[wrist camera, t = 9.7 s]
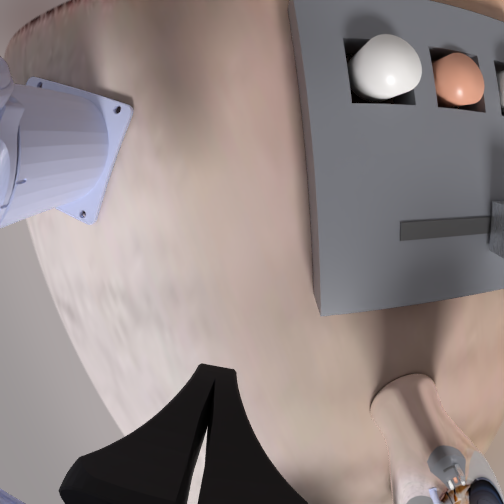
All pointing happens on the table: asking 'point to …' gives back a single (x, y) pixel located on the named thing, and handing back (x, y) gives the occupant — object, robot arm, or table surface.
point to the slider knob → (497, 229)
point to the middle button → (457, 80)
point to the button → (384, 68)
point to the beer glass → (429, 448)
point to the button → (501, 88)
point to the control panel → (398, 158)
